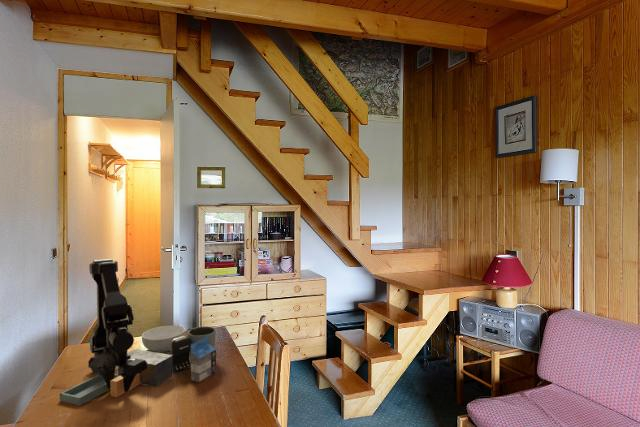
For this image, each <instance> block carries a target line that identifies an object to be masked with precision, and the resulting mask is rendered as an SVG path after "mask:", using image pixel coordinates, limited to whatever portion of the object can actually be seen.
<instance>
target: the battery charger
mask: <svg viewBox="0 0 640 427" xmlns="http://www.w3.org/2000/svg"><path fill="white" fill-rule="evenodd" d="M190 351H191V340H190V338H188V335H187V336H186V335H185V336H182V337H178V338H175V339H173V340H172V341H171V343H170V351H169V355H173V357H172V373H173V372H175V373H178V372H182V371H184V370H186V369H189V368H191V364H190V355H189V354H190Z"/></svg>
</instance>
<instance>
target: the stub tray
mask: <svg viewBox="0 0 640 427" xmlns="http://www.w3.org/2000/svg"><path fill="white" fill-rule="evenodd" d="M118 376H120V375H118V373H117V374H116V373H115V374H114V378H116V377H118ZM109 390H110V391H111V389H108V387H107V384H106V382H105V379H104V377H103V376H102V375H99V374H96V375H95V376H93V377H90V378H89V379H87V380H85V381H82V382H80V383H79V384H77V385H74V386H73V387H71V388H69V389H66V390H64V391H62V392H60V393H59V402H63V403H66V404H67V403H68V404H72V405H76V406H80V407H81V405H84V404H85V403H87V402H89V401H91V400H93V399H95V398H97V397H98V396H100V395H102V394H104V393H105V392H108V391H109Z"/></svg>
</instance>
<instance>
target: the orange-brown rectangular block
mask: <svg viewBox="0 0 640 427" xmlns="http://www.w3.org/2000/svg"><path fill="white" fill-rule="evenodd" d="M140 384H141V372H140V373H138V374H136V376H135V378H134V380H133V382H132V384H131V386H130V389H129V391H130V390H132V389H133V388H135V387H137V386H139V385H140ZM110 385H111V389H110V396H111V397H116V398H119V397H120V396H121V395H123V394H125V391H124V382H123V377H122V376H118V377H116V378H114V379H112V380H111V381H110Z"/></svg>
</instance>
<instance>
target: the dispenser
mask: <svg viewBox="0 0 640 427" xmlns="http://www.w3.org/2000/svg"><path fill="white" fill-rule="evenodd" d="M127 355H130V356H131V358H130V359H128V360H127V362H131V361H133V360H135V359H141V360H145V361H146V362H147V369H145V370H143V371H142V372H141V383H140V384H141V385H143V386H149V387H153V388H157V387H158V386H160V385H162V384H164V383H165V382H167V381H168V380H170V379H172V377H173V375H174V374H173V371H172V357H173V355H170V354H169V353H168V354H167V353H163V352H156V351H151V350H149V351H148V350H142V349H137V348H136V349H133V350H132V351H129V352H127ZM122 373H124V372H123V368H121V367H117V374H118V375H120V374H122Z"/></svg>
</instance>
